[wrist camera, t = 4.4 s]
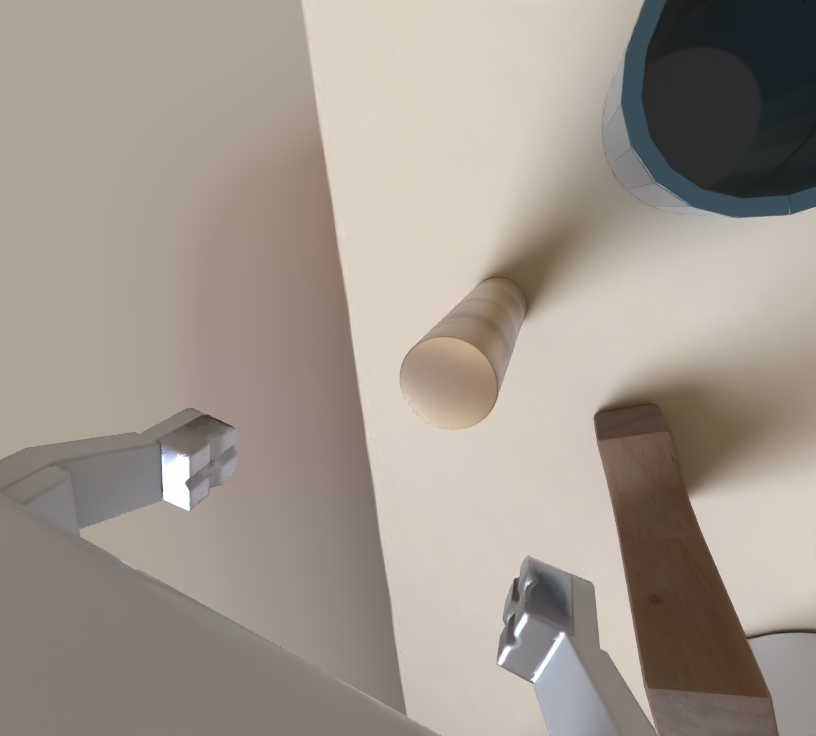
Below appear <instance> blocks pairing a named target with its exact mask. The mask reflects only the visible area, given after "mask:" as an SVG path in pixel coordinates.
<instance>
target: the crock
mask: <svg viewBox="0 0 816 736" xmlns="http://www.w3.org/2000/svg"><path fill="white" fill-rule="evenodd" d="M602 138H603V146H604V151H605V155H606V158H607V161H608V164H609V166H610V168H611V170H612V172H613V174H614V176H615V177H616V178H617V180H618V181H619V182H620V184H621V185H622V186H623V187H624V188H625V189H626V190H627V191H628V192H629V193H630V194H631V195H633V196H634V197H636V198H637V199H638V200H640V201H642V202H644V203H646V204H648V205H650V206H652V207H655V208H658V209H661V210H665V211H671V212H675V213H679V214H688V215H703V216H717V217H731V218H745V217H763V216H782V215H791V214H794V213H797V212H801V211H804V210H807V209H810V208H813V207H816V0H644V3H643V5H642V8H641V10H640V12H639V15H638V17H637V20H636V22H635V25H634V27H633V30H632V32H631V35H630V37H629V40H628V42H627V45H626V47H625V49H624V52H623V54H622V57H621V59H620V62H619V64H618V67H617V69H616V72H615V75H614V78H613V80H612V83H611V85H610V88H609V91H608V94H607V96H606V100H605V106H604V112H603V120H602Z"/></svg>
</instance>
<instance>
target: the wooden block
mask: <svg viewBox="0 0 816 736" xmlns="http://www.w3.org/2000/svg"><path fill="white" fill-rule="evenodd" d="M594 425H595V431H596V438H597V444H598V448H599V452H600V456H601V460H602V464H603V467H604V471H605V475H606V480H607V484H608V488H609V493H610V497H611V502H612V506H613V511H614V516H615V521H616V526H617V532H618V537H619V543H620V549H621V554H622V560H623V566H624V572H625V578H626V584H627V589H628V595H629V601H630V607H631V613H632V619H633V625H634V630H635V636H636V642H637V648H638V654H639V660H640V665H641V671H642V677H643V683H644V688H645V691H646V695H647V698H648V702H649V706H650V709H651V713H652V716H653V720H654V724H655V727H656V731H657V734H658V736H779V733H778V728H777V723H776V717H775V712H774V707H773V701H772V696H771V694H770V691H769V689H768V687H767V684H766V682H765V680H764V677H763V675H762V673H761V670H760V668H759V666H758V663H757V661H756V659H755V656H754V654H753V652H752V649H751V647H750V645H749V642H748V640H747V638H746V635H745V633H744V631H743V628H742V626H741V624H740V621H739V619H738V617H737V614H736V612H735V610H734V607H733V605H732V602H731V600H730V598H729V595H728V593H727V591H726V588H725V586H724V584H723V581H722V579H721V577H720V574H719V572H718V570H717V567H716V565H715V563H714V560H713V558H712V556H711V553H710V551H709V549H708V546H707V544H706V542H705V539H704V537H703V535H702V532H701V530H700V527H699V525H698V522H697V519H696V517H695V514H694V511H693V509H692V506H691V503H690V500H689V497H688V494H687V490H686V487H685V484H684V481H683V477H682V474H681V471H680V467H679V463H678V459H677V455H676V451H675V447H674V442H673V438H672V434H671V431H670V429H669V427H668V425H667V423H666V421H665V419H664V417H663V415H662V413H661V411H660V408H659V407H658V406H657V405H656V404H648V405H642V406H636V407H630V408H624V409H618V410H612V411H606V412H600V413H597V414H595V415H594Z"/></svg>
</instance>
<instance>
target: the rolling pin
mask: <svg viewBox="0 0 816 736" xmlns="http://www.w3.org/2000/svg"><path fill="white" fill-rule="evenodd" d="M525 312H526V300H525V296H524V294H523V292H522V291H521V289H520V288H519V287H518V286H517V285H516V284H515V283H513V282H511V281H510V280H507V279H503V278H492V279H488V280H485V281H483V282H482V283H480V284H479V285H478V286H477V287H475V288H474V289H473V290H472V291H471V292H470V293H469V294H468V295H467V296H466V297H465V298H464V299H463V300H462V301H461V302H460V303H459V304H458V305H457V306H456V307H455V308H453V309H452V310H451V311H450V312H449V313H448V314H447V315H446V316H445V317H444V318H443V319H442V320H441V321H440V322H439V323H438V324H437V325H436V326H435V327H434V328H433V329H432V330H430V331H429V332H428V333H427V334H426V335H425V336H424V337H423V338H422V339H421V340H420V341H419V342H418V343H417V344H416V345H415V346H414V347H413V348H412V349H411V350H410V351H409V352H408V354H407V355H406V356H405V358H404V360H403V363H402V366H401V370H400V386H401V390H402V393H403V396H404V398H405V400H406V402H407V404H408V405H409V407H410V408H411V409H412V410H413V412H414V413H415V414H417V415H418V416H419V417H420V418H421V419H423V420H424V421H426V422H427V423H429V424H432V425H434V426H437V427H440V428H444V429H452V430H453V429H464V428H468V427H471V426H473V425H475V424H477V423H479V422H481V421H482V420H483V419H484V418H486V417H487V415H488V414H489V413H490V412H491V410H492V409H493V407H494V405H495V403H496V400H497V397H498V394H499V391H500V388H501V385H502V382H503V379H504V376H505V373H506V370H507V367H508V364H509V361H510V358H511V355H512V352H513V349H514V346H515V343H516V340H517V337H518V334H519V331H520V328H521V325H522V322H523V319H524V316H525Z"/></svg>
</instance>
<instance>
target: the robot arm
mask: <svg viewBox="0 0 816 736" xmlns="http://www.w3.org/2000/svg"><path fill="white" fill-rule="evenodd" d="M238 441H239V431H238V430H237V429H236V428H235V427H233V426H230V425H228V424H226V423H224V422H222V421H220V420H218V419H216V418H213V417H211V416H209V415H206V414H204V413H202V412H200V411H198V410H195V409H193V408H187V409H185V410H183V411H181V412H179V413H178V414H176V415H174V416H172V417H170V418H168V419H166V420H164V421H163V422H161V423H159V424H157V425H155V426H154V427H152V428H150V429H148V430H146V431H144V432H142V433H141V434H138V433H136V432H132V433H125V434H118V435H112V436H104V437H98V438H91V439H84V440H77V441H70V442H64V443H57V444H50V445H44V446H37V447H30V448H25V449H23V450H21V451H19V452H16V453H14V454H12V455H10V456H8V457H5V458H3V459H1V460H0V736H441V735H440V734H438V733H436V732H434V731H432V730H431V729H429V728H427V727H425V726H423V725H421V724H420V723H418V722H416V721H414V720H412V719H410V718H409V717H407V716H405V715H403V714H401V713H400V712H398V711H396V710H394V709H392V708H390V707H389V706H387V705H385V704H383V703H381V702H380V701H378V700H376V699H374V698H372V697H370V696H369V695H367V694H365V693H363V692H361V691H360V690H358V689H356V688H354V687H352V686H350V685H348V684H347V683H345V682H343V681H341V680H340V679H338V678H336V677H334V676H332V675H330V674H329V673H327V672H325V671H323V670H321V669H319V668H317V667H316V666H314V665H312V664H310V663H309V662H307V661H305V660H303V659H301V658H299V657H297V656H296V655H294V654H292V653H290V652H289V651H287V650H285V649H283V648H281V647H279V646H278V645H276V644H274V643H272V642H270V641H269V640H267V639H265V638H263V637H261V636H259V635H257V634H256V633H254V632H252V631H250V630H248V629H246V628H245V627H243V626H241V625H239V624H238V623H236V622H234V621H232V620H230V619H229V618H226V617H225V616H223V615H221V614H219V613H218V612H216V611H214V610H212V609H210V608H209V607H207V606H205V605H203V604H201V603H199V602H198V601H196V600H194V599H192V598H190V597H188V596H187V595H185V594H183V593H181V592H180V591H178V590H176V589H174V588H172V587H170V586H168V585H167V584H165V583H163V582H161V581H160V580H158V579H156V578H154V577H152V576H151V575H148V574H147V573H145V572H143V571H141V570H140V569H138V568H136V567H134V566H132V565H130V564H129V563H126V562H125V561H123V560H121V559H120V558H118V557H116V556H114V555H112V554H111V553H109V552H107V551H105V550H103V549H101V548H100V547H97V546H96V545H94V544H92V543H90V542H89V541H87V540H85V539H83V538H81V537H80V532H79V529H81V528H84V527H87V526H90V525H93V524H96V523H99V522H101V521H104V520H107V519H110V518H113V517H116V516H119V515H121V514H124V513H127V512H130V511H133V510H136V509H139V508H141V507H144V506H147V505H150V504H153V503H156V502H159V501H161V500H162V499H164V500H166V501H169V502H171V503H173V504H175V505H177V506H179V507H182V508H184V509H186V510H188V511H190V510H191V509H192V508H194V507H195V506H196V505H197V504H198V503H200V502H201V501H202V500H203V499H204V498H206V497H207V496H208V495H209V490H210V488H211V487H215V486H219V485H221V484H223V483H224V482H225V481H226V480H227V479H228V478H229V477H230V475H231V474H232V472H233V471H234V469H235V467H236V464H237V460H238V453H237V451H236V449H235V447H234V445H235V444H236V443H237V442H238ZM503 621H504V623H505V625H506V626H505V628H504V630H503V632H502V634H501V636H500V641H499V648H498V656H497V665H499V666H500V667H502V668H504V669H506V670H508V671H510V672H512V673H514V674H515V675H517V676H519V677H521V678H523V679H525V680H527V681H529V682H531V683H532V684H534V685H533V688H534V691H535V693H536V696H537V699H538V702H539V705H540V708H541V710H542V713H543V716H544V719H545V722H546V725H547V727H548V730H549V733H550V736H658V734H657V731H656V728H655V730H654V728H653V726H652V725H651V723H650V721H649V720H648V718H647V717H646V715H645V713H644V712H643V710H642V708H641V707H640V705H639V704H638V702H637V700H636V699H635V697H634V695H633V694H632V692H631V691H630V689H629V687H628V686H627V684H626V682H625V681H624V679H623V678H622V676H621V674H620V673H619V671H618V669H617V668H616V666H615V665H614V663H613V661H612V660H611V658H610V656H609V655H608V653H607V652H605V651H603V650H601V649H600V643H599V632H598V622H597V611H596V600H595V590H594V585H593V584H592V582H590V581H587V580H585V579H582V578H580V577H578V576H575V575H573V574H571V573H570V574H569V573H568V572H565V571H563V570H561V569H558V568H556V567H554V566H551V565H549V564H547V563H544V562H542V561H540V560H537V559H535V558H533V557H530V556H527V557H526V558H525V559H524V561H523V563H522V565H521V569H520V577H518V578H515V579H514V581H513V583H512V585H511V587H510V590H509V593H508V596H507V599H506V603H505V607H504V613H503ZM747 640H748V642H749V645H750V647H751V649H752V652H753V654H754V656H755V659H756V661H757V663H758V666H759V668H760V670H761V673H762V675H763V677H764V680H765V682H766V684H767V687H768V689H769V691H770V694H771V696H772V701H773V707H774V712H775V717H776V723H777V728H778V733H779V736H816V633H780V634H772V635H766V636H761V637H756V638H752V639H747Z"/></svg>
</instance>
